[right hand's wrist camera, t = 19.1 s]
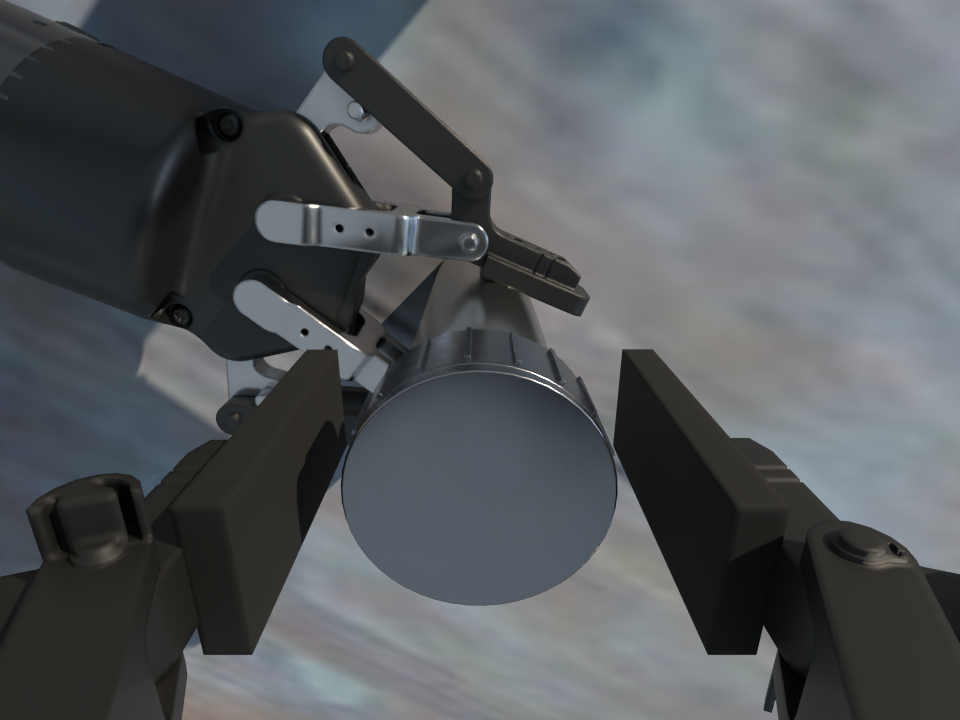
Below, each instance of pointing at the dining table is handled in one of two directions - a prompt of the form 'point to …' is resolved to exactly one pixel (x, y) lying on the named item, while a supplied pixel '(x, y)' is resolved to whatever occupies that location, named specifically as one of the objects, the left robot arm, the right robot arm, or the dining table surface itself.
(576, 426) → the lid
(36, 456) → the dining table surface
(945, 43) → the dining table surface
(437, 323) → the silver metal cylinder
